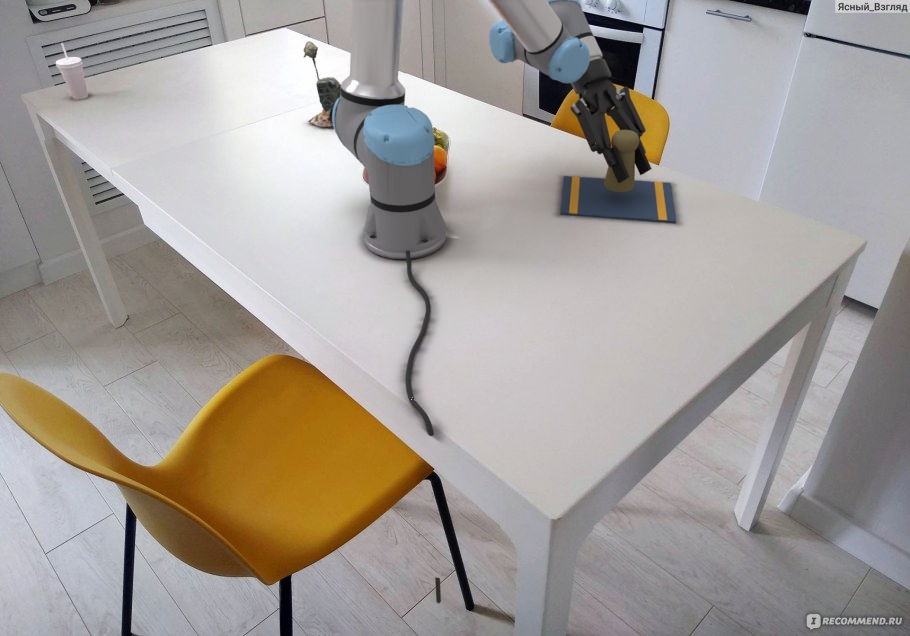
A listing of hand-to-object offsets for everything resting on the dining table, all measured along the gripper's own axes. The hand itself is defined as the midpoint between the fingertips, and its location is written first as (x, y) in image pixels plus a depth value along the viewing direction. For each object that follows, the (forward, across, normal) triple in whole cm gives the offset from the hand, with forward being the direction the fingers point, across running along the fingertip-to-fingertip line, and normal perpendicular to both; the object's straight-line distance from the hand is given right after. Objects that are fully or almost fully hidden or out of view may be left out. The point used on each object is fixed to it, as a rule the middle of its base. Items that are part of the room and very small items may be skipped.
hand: (635, 175), depth 137 cm
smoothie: (-86, +78, -95) cm, 150 cm away
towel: (+2, 0, -7) cm, 8 cm away
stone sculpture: (-46, +30, -56) cm, 79 cm away
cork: (0, 0, -5) cm, 5 cm away
